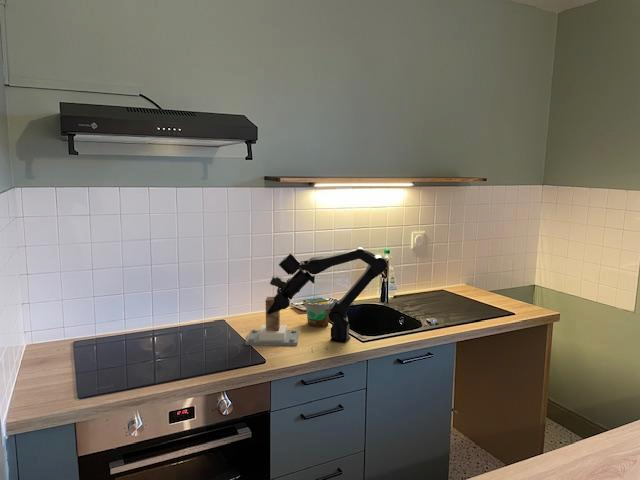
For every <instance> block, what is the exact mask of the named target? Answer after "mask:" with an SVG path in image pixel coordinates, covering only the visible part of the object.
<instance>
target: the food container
mask: <svg viewBox="0 0 640 480" xmlns="http://www.w3.org/2000/svg"><path fill="white" fill-rule="evenodd" d="M304 303H305V304H304V308H305V309H306V319H307V325H308V326H309V327H313V328H324V327H328V326H329V322H330V320H329V316H328V311H329V305H331V303H327V304H324V303H321V302H311V301H310V302H309V301H308V299H307V300H306V301H305V302H304Z"/></svg>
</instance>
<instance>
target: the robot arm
mask: <svg viewBox="0 0 640 480" xmlns="http://www.w3.org/2000/svg"><path fill="white" fill-rule="evenodd" d="M357 260H361V261H362V262H364V263H366V264H367V266H366V268H365V271H364V272H363V273H362V274H361V276H360V277H359V278H358V279H357V280H356V282H355V283H353V284H352V286H351V287H350V288H349V290H348V291H347V292H346V293H345V295H344V296H342V298H340V299H337V298H335V299H334V300H333V302H332V303H330V305H329V311H328V316H329V322H331V323H332V324H331V327H330V339H329V340H330V341H331V342H337V343H344V344H345V343H347V342H348V341H349V340H350V339H351V335H350V323H349V319H348V318H349V317H348V315H347V312H348V310H349V307H350V306H351V305H352V304H353V302H354V301H355V300H356V299H357V298H358V297H359V295H361V293H362V292H363V291H364V290H365V288H367V286H368V285H369V284H370V283H371V281H373V279H376V278H378V277H380V275H381V274H383V272H384V271H386V270H387V267H388V263H387V260H386V259H385V257H384V256H383V255H381V254H374V253H373V252H370V251H369V250H366V249H364V248H363V247H360V246H359V247H356V248H354V249H350V250H346V251H343V252H338V253H336V254H332V255H328V256H312V257H310V258H309V259H307V260H301V261H299V260H298V259H297V257H296V256H295V255H294V254H293V253H291V252H290V253H289V254H288V255H287V256H285V257H284V258H283V259H282V260H281V261H280V262H279V263H278V266H279V268H281V269H282V270H283V271H284V272H285V273H286V274H287V275H289V276H290V275H292V277H291V278H288V279H285V278H284V277H281V276H280V275H277V274H273V276H272V277H271V280H270V282H269V284H270V285H271V286H275V287H277V289H276V294H275V295H274V296H273V297H274V303H273V304H272V306H271V307H270V309H269V310H268V311H267V313H268V314H271V313H274V312H276V311H279V310H280V311H282V310H286V309H288V308H289V306H291V305H290V304H291V300H293V298H294V296H295V295H296V294H297V293H300V291H301V290H302V289H303V288H304V287H305V286H306V285H307V284H308V283H309V282H311V283H312V284H315V283H316V282H315V279H316V275H318V274H320V273H323V272H324V271H326V270H328V269H329V268H331V267H334V266H337V265H341V264H345V263H349V262H353V261H357Z"/></svg>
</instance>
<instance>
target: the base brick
mask: <svg viewBox="0 0 640 480" xmlns="http://www.w3.org/2000/svg"><path fill="white" fill-rule="evenodd" d="M287 327H288V326H287V324H280V328H279V331H266V324H261V326H260V329H256V328H254V329H251V330H250V331H249V333H248V335H247V338H246V340H245V343H244V344H245V346H298V342H299V338H300V337H299V336H300V330H297V329H296V328H295V329H291V330H287V329H288V328H287Z"/></svg>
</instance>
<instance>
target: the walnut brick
mask: <svg viewBox="0 0 640 480" xmlns="http://www.w3.org/2000/svg"><path fill="white" fill-rule="evenodd" d="M273 303H274V296H266V298H265V325H266V331H279V328H280V325H281V323H280V322H281V319H280V318H281V313H280V311H281V310H279V311H276V312H274V313H271V314H268V313H267V311H268V310H269V309H270V307H271V306H272V304H273Z"/></svg>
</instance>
